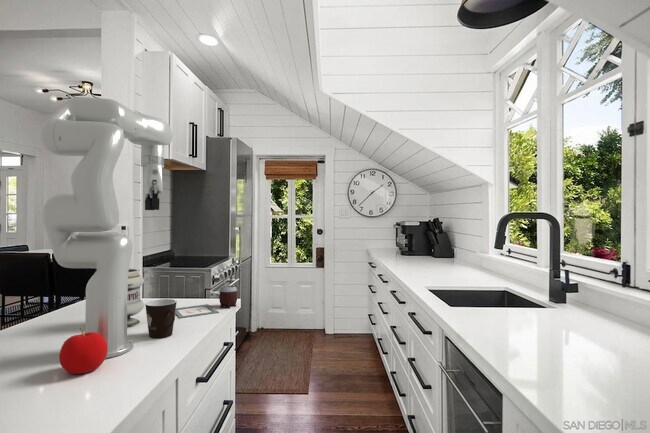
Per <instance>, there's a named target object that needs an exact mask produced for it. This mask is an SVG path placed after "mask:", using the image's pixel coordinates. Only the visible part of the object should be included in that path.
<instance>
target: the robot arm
mask: <svg viewBox="0 0 650 433" xmlns="http://www.w3.org/2000/svg"><path fill="white" fill-rule="evenodd" d="M173 136H174V135H173V130H172V128H171V125H169V123H167V121H165V120H163V119H161V118H158V117H155V116H151V115H147V114H144V113H141V112H137V111H133V110H132V109H131V108H129V107H127V106H125V105H124V104H122V103H120V102H119V101H117V100H115V99H111V98H100V97H79V96H77V97H72V98H69V99H68V100H66V101H65V102H63V103H62V104H61V105H60V106H59V107H58V108H57V109H56V110H55V111H54V113H52V114H51V116H50V117H49V118H48V119H46V120H45V123H43V126H42V129H41V133H40V141H41V143H42V145H43V146H44V148H45V149H46V150H47V151H48V152H49V153H51V154H53V155H55V156H56V155H57V156H62V157H63V156H64V157H82V159H81V160H80V161H79V162H78V163H77V165H76V166H75V168H74V169H73V171H72V173H71V176H70V184H71V188H72V192H73V193H62V194H55V195H53V196H51V197H49V198H48V199H47V200H46V202H45V203H44V205H43V212H42V220H43V225H44V228H45V231H46V232H45V233H46V236H47V238H48V241H49V243H50V244H49V245H50V247H51V250H52V253H53V257H54V259H55V261H56V262H57V264H58V265H60V266H61V267H62V268H66V269H96V270H95V272H94V274H93V275H92V276H91V277H90V279H88V282H87V284H86V287H85V314H84V315H85V319H84V320H85V322H84V324H85V325H84V326H85V328H84V330H85V332H84V333H90V332H95V333H99V334H101V335H102V336H103V337H104V338H105V340H106V342H107V346H108V351H107V355H106V358H105V359H108V358H113V357H118V356H120V355H124V354H125V353H126V354H127V352H129V351H131V350H132V349H133V348H134V341H133V340H132V339H129V338H128V327H127V301H128V272H129V268H130V263H131V260H132V259H131V258H132V253H133V242H132V239H131V238H130V237H129V236H128V235H126V234H124V233H122V232H113V231H112V230H114V229H116V227H118V225H119V222H120V212H119V206H118V201H117V196H116V191H115V187H114V180H113V177H114V175H113V174H114V170H115V168H116V165H117V162H118V159H119V157H120V155H121V154H122V151H123V149H124V144H125V139H126V140H127V141H129V142H131V143H132V144H134V145H138V146H140V149H141V150H140V167H143V168H144V170H143V191H144V194H145V196H144V197H145V199H144V210H145V211H159V210H160V194H161V195H162V193H163V191H164V190H163V188H164V187H163V170H162V169H163V168H165V146H169V145H170V144H171V142H172V140H173ZM65 341H66V340H65ZM65 341H63V343H64V342H65Z"/></svg>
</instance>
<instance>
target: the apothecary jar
mask: <svg viewBox="0 0 650 433" xmlns="http://www.w3.org/2000/svg"><path fill="white" fill-rule="evenodd" d="M144 283H145V279H144V277H143V276H142V275H140V271H139V269H138V268H130V267H129V272H128V301H127V328H129V327H130V328H131V327H135V326H137V325H139V324H140V323H141V321H140V320H139V319H138V318H135V317H132V316H135V315H138V314H139V313H140V312H142V310H144V307H145V304H144V303H145V302H144V301H143V300H142V299H141V287H142V286H143V285H144Z"/></svg>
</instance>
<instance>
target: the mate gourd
mask: <svg viewBox="0 0 650 433" xmlns="http://www.w3.org/2000/svg"><path fill="white" fill-rule="evenodd" d="M218 273H219V274H220V275H221V278H222V282H223V286H221V288H220V289H219V295H218V297H219V304H220V306H219V308H227V309H228V310H230V309H231V308H232V307H233V308H235V307H237V301H238V289H237V287H236V286H235V285H227V284H226V280H225V275H224V274H223V273H222V271H218Z"/></svg>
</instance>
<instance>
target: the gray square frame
mask: <svg viewBox="0 0 650 433" xmlns="http://www.w3.org/2000/svg"><path fill="white" fill-rule="evenodd" d="M202 307H206V308H207V309H208V310H210V311H208V312H202V311H201V309H202ZM193 308H194V309H195V308H198V309H196V311H199V312H200V313H195V314H193V313H194V311H191V312H190V311H189V310H186V313H188V314H186V315H183V314H182V313H181V312H180V311H179V310H185V309H193ZM219 313H220V311H218V310H217V309H215V308H214V307H213V306H211V305H210V304H208V303H206V304H200V305H198V304H197V305H191V306H184V307H176V310H175V316H176V317H177V318H179V319H183V318H186V319H187V318H192V317H193V318H194V317H199V316H205V315H212V314H219Z"/></svg>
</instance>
